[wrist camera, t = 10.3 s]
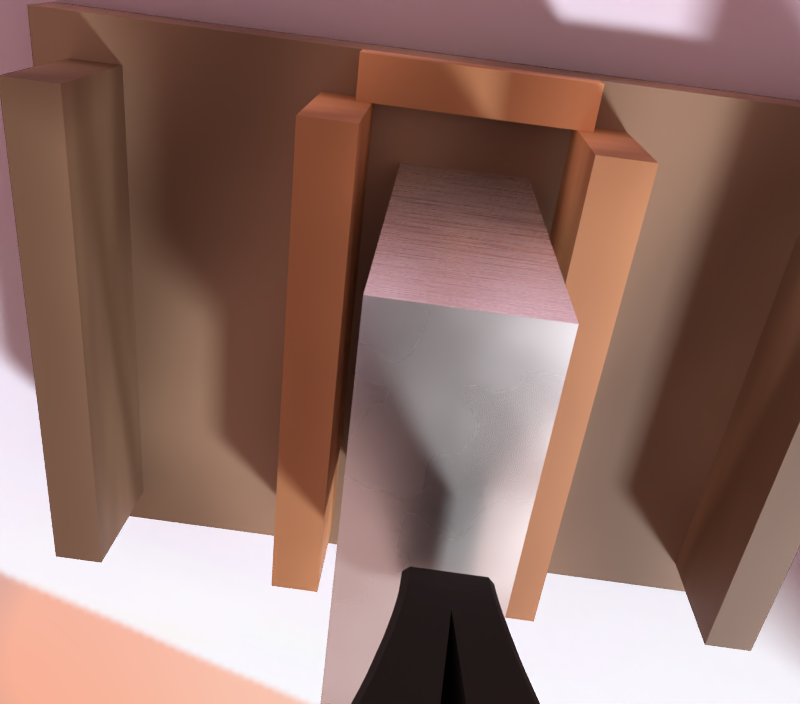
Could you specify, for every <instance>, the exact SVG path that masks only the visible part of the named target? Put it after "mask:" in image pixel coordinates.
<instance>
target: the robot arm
mask: <svg viewBox="0 0 800 704" xmlns="http://www.w3.org/2000/svg"><path fill="white" fill-rule="evenodd" d="M351 704H540V703H539V701H538V698H537V696H536V694H535V692H534V690H533V687H532V685H531V683H530V681H529V678H528V676H527V674H526V672H525V669H524V667H523V665H522V662H521V660H520V657H519V655H518V653H517V650H516V647H515V645H514V642H513V640H512V637H511V634H510V632H509V629H508V626H507V624H506V621H505V618H504V615H503V612H502V609H501V606H500V603H499V600H498V596H497V593H496V589H495V585H494V583H493V582H492V581H491V580H490V578H489V577H483V576H476V575H469V574H462V573H454V572H447V571H440V570H433V569H426V568H418V567H411V566H410V567H408V568H406V569H405V570H403V571H402V574H401V580H400V587H399V592H398V596H397V599H396V603H395V606H394V609H393V612H392V615H391V618H390V620H389V623H388V626H387V628H386V631H385V634H384V636H383V639H382V641H381V643H380V645H379V647H378V650H377V652H376V654H375V656H374V659H373V661H372V663H371V665H370V668H369V670H368V672H367V674H366V676H365V678H364V680H363V682H362V684H361V686H360V688H359V690H358V692H357V694H356V695H355V697H354V699H353V701H352V703H351Z"/></svg>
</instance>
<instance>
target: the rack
mask: <svg viewBox="0 0 800 704" xmlns="http://www.w3.org/2000/svg"><path fill="white" fill-rule="evenodd" d="M27 6H28V16H29V26H30V36H31V46H32V56H33V66H34V67H32V68H28V69H23V70H19V71H15V72H11V73H7V74H3V75H0V97H1V106H2V114H3V122H4V130H5V139H6V147H7V155H8V163H9V172H10V180H11V188H12V196H13V205H14V213H15V221H16V230H17V238H18V246H19V254H20V263H21V271H22V279H23V287H24V296H25V304H26V312H27V320H28V329H29V337H30V345H31V354H32V362H33V370H34V378H35V387H36V395H37V403H38V411H39V420H40V428H41V436H42V444H43V453H44V461H45V469H46V477H47V486H48V494H49V502H50V511H51V519H52V527H53V535H54V544H55V552H56V556H58V557H65V558H73V559H80V560H87V561H95V562H102V561H103V559H104V557H105V555H106V554H107V552H108V550H109V549H110V547H111V545H112V544H113V542H114V540H115V539H116V537H117V535H118V534H119V532H120V530H121V529H122V527H123V525H124V523H125V522H126V520H127V518H128V517H129V516H134V517H141V518H148V519H156V520H163V521H170V522H178V523H185V524H192V525H200V526H207V527H215V528H222V529H229V530H237V531H244V532H251V533H259V534H266V535H273V536H274V550H273V570H272V586H278V587H285V588H293V589H300V590H308V591H315V592H317V590H318V586H319V581H320V577H321V572H322V568H323V563H324V559H325V554H326V550H327V545H328V543H332V544H337V543H338V533H339V523H340V514H341V504H342V494H343V485H344V475H345V466H346V456H347V446H348V437H349V427H350V417H351V408H352V398H353V389H354V379H355V369H356V360H357V350H358V341H359V331H360V321H361V312H362V302H363V294H364V291H365V287H366V283H367V280H368V276H369V273H370V269H371V266H372V262H373V259H374V255H375V251H376V248H377V244H378V241H379V237H380V234H381V230H382V227H383V223H384V220H385V216H386V212H387V209H388V205H389V202H390V198H391V195H392V191H393V188H394V184H395V180H396V177H397V173H398V170H399V166H400V163H401V162H407V163H414V164H422V165H429V166H437V167H444V168H452V169H459V170H467V171H474V172H481V173H489V174H496V175H504V176H511V177H519V178H526V179H529V180H530V183H531V186H532V189H533V192H534V195H535V198H536V201H537V203H538V206H539V209H540V212H541V215H542V218H543V221H544V224H545V227H546V230H547V233H548V236H549V239H550V241H551V244H552V247H553V250H554V253H555V256H556V259H557V262H558V265H559V268H560V271H561V274H562V277H563V280H564V282H565V285H566V288H567V291H568V294H569V297H570V300H571V303H572V306H573V309H574V312H575V315H576V318H577V321H578V323H579V325H578V329H577V333H576V337H575V341H574V345H573V349H572V353H571V357H570V361H569V365H568V369H567V373H566V377H565V381H564V385H563V389H562V393H561V397H560V401H559V405H558V409H557V413H556V417H555V421H554V425H553V429H552V433H551V437H550V441H549V445H548V449H547V453H546V457H545V461H544V465H543V469H542V473H541V477H540V481H539V485H538V489H537V493H536V497H535V501H534V505H533V509H532V513H531V516H530V520H529V524H528V528H527V532H526V536H525V540H524V544H523V548H522V552H521V556H520V560H519V564H518V568H517V572H516V576H515V580H514V584H513V588H512V592H511V596H510V600H509V604H508V608H507V612H506V616H505V617H506V618H513V619H520V620H528V621H534V618H535V614H536V611H537V607H538V603H539V600H540V596H541V592H542V589H543V585H544V581H545V578H546V574H547V573H553V574H561V575H568V576H575V577H583V578H590V579H597V580H605V581H612V582H619V583H627V584H634V585H642V586H649V587H656V588H664V589H671V590H678V591H686V594H687V597H688V600H689V602H690V605H691V608H692V611H693V613H694V616H695V619H696V621H697V624H698V627H699V630H700V632H701V635H702V638H703V641H704V643H705V645H711V646H719V647H726V648H733V649H741V650H748V651H751V649H752V647H753V645H754V643H755V641H756V639H757V636H758V634H759V632H760V630H761V628H762V626H763V624H764V621H765V619H766V617H767V615H768V613H769V611H770V609H771V606H772V604H773V602H774V600H775V598H776V596H777V594H778V591H779V589H780V587H781V585H782V583H783V581H784V579H785V577H786V574H787V572H788V570H789V568H790V566H791V564H792V562H793V559H794V557H795V555H796V553H797V551H798V549H799V547H800V101H795V100H788V99H780V98H773V97H765V96H758V95H750V94H742V93H735V92H727V91H720V90H712V89H705V88H697V87H690V86H682V85H674V84H667V83H659V82H652V81H644V80H637V79H629V78H621V77H614V76H606V75H599V74H591V73H584V72H576V71H568V70H561V69H553V68H546V67H538V66H531V65H523V64H515V63H508V62H500V61H493V60H485V59H478V58H470V57H463V56H455V55H447V54H440V53H432V52H425V51H417V50H410V49H402V48H394V47H387V46H379V45H372V44H364V43H357V42H349V41H341V40H334V39H326V38H319V37H311V36H304V35H296V34H289V33H281V32H273V31H266V30H258V29H251V28H243V27H236V26H228V25H220V24H213V23H205V22H198V21H190V20H183V19H175V18H167V17H160V16H152V15H145V14H137V13H130V12H122V11H114V10H107V9H99V8H92V7H84V6H77V5H69V4H62V3H54V2H52V3H42V4H31V5H27Z"/></svg>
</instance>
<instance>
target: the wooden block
mask: <svg viewBox="0 0 800 704" xmlns="http://www.w3.org/2000/svg"><path fill="white" fill-rule="evenodd" d="M578 325H579V323H578V321H577V318H576V315H575V312H574V309H573V306H572V303H571V300H570V297H569V294H568V291H567V288H566V285H565V282H564V280H563V277H562V274H561V271H560V268H559V265H558V262H557V259H556V256H555V253H554V250H553V247H552V244H551V241H550V239H549V236H548V233H547V230H546V227H545V224H544V221H543V218H542V215H541V212H540V209H539V206H538V203H537V201H536V198H535V195H534V192H533V189H532V186H531V183H530V180H529V179H526V178H519V177H511V176H504V175H496V174H489V173H481V172H474V171H467V170H459V169H452V168H444V167H437V166H429V165H422V164H414V163H407V162H401V163H400V166H399V170H398V173H397V177H396V180H395V184H394V188H393V191H392V195H391V198H390V202H389V205H388V209H387V212H386V216H385V220H384V223H383V227H382V230H381V234H380V237H379V241H378V244H377V248H376V251H375V255H374V259H373V262H372V266H371V269H370V273H369V276H368V280H367V283H366V287H365V291H364V294H363V302H362V312H361V321H360V331H359V341H358V350H357V360H356V369H355V379H354V389H353V398H352V408H351V417H350V427H349V437H348V446H347V456H346V466H345V475H344V485H343V494H342V504H341V514H340V523H339V533H338V543H337V552H336V562H335V571H334V581H333V591H332V600H331V610H330V620H329V629H328V639H327V648H326V658H325V668H324V677H323V687H322V696H321V704H351V703H352V701H353V699H354V697H355V695H356V694H357V692H358V690H359V688H360V686H361V684H362V682H363V680H364V678H365V676H366V674H367V672H368V670H369V668H370V665H371V663H372V661H373V659H374V656H375V654H376V652H377V650H378V647H379V645H380V643H381V641H382V639H383V636H384V634H385V631H386V628H387V626H388V623H389V620H390V618H391V615H392V612H393V609H394V606H395V603H396V599H397V596H398V592H399V587H400V580H401V574H402V571H403V570H405V569H406V568H408V567H410V566H411V567H418V568H426V569H433V570H440V571H447V572H454V573H462V574H469V575H476V576H483V577H489V578H490V580H491V581H492V582H493V583H494V585H495V589H496V593H497V596H498V600H499V603H500V606H501V609H502V612H503V615H504V618H505V616H506V612H507V608H508V604H509V600H510V596H511V592H512V588H513V584H514V580H515V576H516V572H517V568H518V564H519V560H520V556H521V552H522V548H523V544H524V540H525V536H526V532H527V528H528V524H529V520H530V516H531V513H532V509H533V505H534V501H535V497H536V493H537V489H538V485H539V481H540V477H541V473H542V469H543V465H544V461H545V457H546V453H547V449H548V445H549V441H550V437H551V433H552V429H553V425H554V421H555V417H556V413H557V409H558V405H559V401H560V397H561V393H562V389H563V385H564V381H565V377H566V373H567V369H568V365H569V361H570V357H571V353H572V349H573V345H574V341H575V337H576V333H577V329H578Z"/></svg>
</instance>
